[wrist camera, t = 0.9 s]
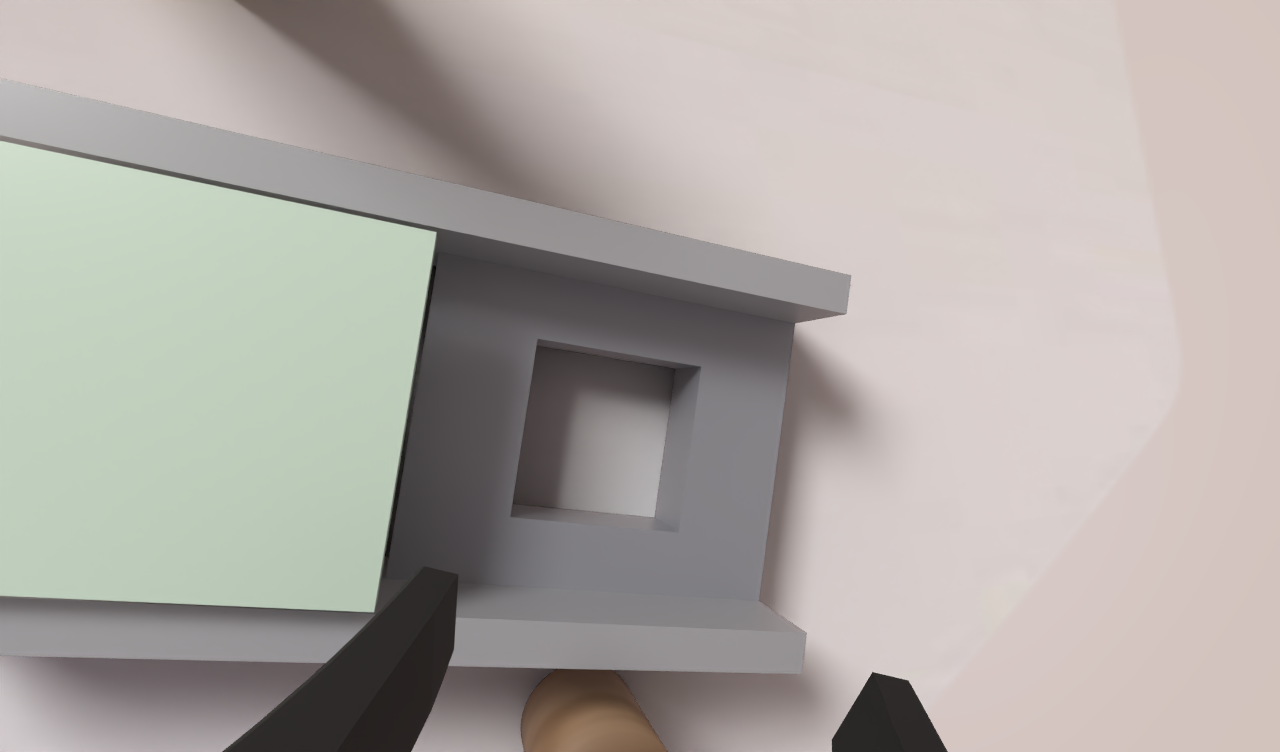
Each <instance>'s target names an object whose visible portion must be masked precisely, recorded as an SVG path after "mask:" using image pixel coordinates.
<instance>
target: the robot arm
mask: <svg viewBox="0 0 1280 752" xmlns="http://www.w3.org/2000/svg"><path fill="white" fill-rule="evenodd" d="M457 591H458V574H455V573H451V572H447V571H442V570H438V569H434V568H430V567H426V566H423V567H421V568H419V569H417V571H416V572H415V573H414V574H413V575H412V576H411V577H410V578H409V580H408V581H407V582H406V583H405V584H404V585H403V586H402V587H401V588H400V589H399V591H398V592H397V593H396V594H395V595H394V596H393V597H392V598H391V599H390V600H389V601H388V602H387V603H386V604H385V605H384V607H383V608H382V609H381V610H380V611H379V612H378V613H377V614H376V615H375V616H374V617H373V618H372V619H371V620H370V621H369V622H368V623H367V624H366V625H365V626H364V627H363V628H362V629H361V630H360V631H359V632H358V633H357V634H356V635H355V636H354V637H353V638H352V639H351V640H350V641H348V642H347V643H346V644H345V645H344V646H343V647H342V648H341V649H340V650H339V651H338V652H337V653H336V654H335V655H334V656H333V657H332V658H331V659H330V660H329V661H327V662H326V663H325V664H324V665H323V666H322V667H321V668H320V669H319V670H318V671H317V672H316V673H315V674H314V675H312V676H311V677H310V678H309V679H308V680H307V681H306V682H305V683H303V684H302V685H301V686H300V687H299V688H298V689H297V690H295V691H294V692H293V693H292V694H291V695H290V696H289V697H287V698H286V699H285V700H284V701H283V702H282V703H280V704H279V705H278V706H277V707H276V708H275V709H274V710H272V711H271V712H270V713H269V714H268V715H267V716H266V717H264V718H263V719H262V720H261V721H260V722H258V723H257V724H256V725H255V726H254V727H252V728H251V729H250V730H249V731H248V732H246V733H245V734H244V735H243V736H241V737H240V738H239V739H238V740H236V741H235V742H234V743H233V744H231V745H230V746H229V747H228V748H226V749H225V750H224V751H223V752H411V751H412V749H413V747H414V745H415V743H416V740H417V738H418V736H419V734H420V732H421V730H422V728H423V726H424V724H425V722H426V720H427V718H428V716H429V714H430V712H431V710H432V707H433V704H434V702H435V699H436V697H437V694H438V691H439V689H440V686H441V684H442V681H443V678H444V676H445V673H446V670H447V667H448V665H449V662H450V659H451V657H452V654H453V651H454V643H455V625H456V608H457ZM832 752H947V750H946V748H945V746H944V744H943V743H942V741H941V739H940V737H939V735H938V734H937V732H936V730H935V728H934V726H933V724H932V722H931V721H930V719H929V717H928V715H927V713H926V711H925V710H924V708H923V706H922V704H921V702H920V700H919V699H918V697H917V695H916V693H915V691H914V690H913V688H912V686H911V684H910V683H909V681H908V680H903V679H899V678H895V677H891V676H886V675H882V674H878V673H874V672H872V674H871V676H870V677H869V679H868V681H867V682H866V684H865V686H864V687H863V689H862V691H861V692H860V694H859V696H858V697H857V699H856V701H855V702H854V704H853V706H852V707H851V709H850V711H849V712H848V714H847V716H846V717H845V719H844V721H843V722H842V724H841V726H840V727H839V729H838V731H837V732H836V734H835V735H834V737H833V739H832Z"/></svg>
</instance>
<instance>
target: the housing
mask: <svg viewBox="0 0 1280 752" xmlns="http://www.w3.org/2000/svg"><path fill="white" fill-rule="evenodd" d="M0 141H4V142H8V143H13V144H18V145H23V146H28V147H32V148H37V149H42V150H47V151H51V152H56V153H61V154H66V155H70V156H75V157H80V158H85V159H90V160H94V161H99V162H104V163H109V164H113V165H118V166H123V167H128V168H133V169H137V170H142V171H147V172H152V173H156V174H161V175H166V176H171V177H176V178H180V179H185V180H190V181H195V182H199V183H204V184H209V185H214V186H218V187H223V188H228V189H233V190H238V191H242V192H247V193H252V194H257V195H261V196H266V197H271V198H276V199H281V200H285V201H290V202H295V203H300V204H304V205H309V206H314V207H319V208H324V209H328V210H333V211H338V212H343V213H347V214H352V215H357V216H362V217H366V218H371V219H376V220H381V221H386V222H390V223H395V224H400V225H405V226H409V227H414V228H419V229H424V230H429V231H433V232H437V241H436V247H435V253H434V259H433V266H437V268H436V274H435V280H434V286H433V292H432V298H431V304H430V310H429V317H428V323H427V329H426V335H425V341H424V347H423V353H422V359H421V365H420V371H419V377H418V384H417V390H416V396H415V402H414V408H413V414H412V420H411V426H410V432H409V438H408V445H407V451H406V457H405V463H404V469H403V475H402V481H401V487H400V493H399V499H398V505H397V512H396V518H395V524H394V530H393V536H392V542H391V548H390V554H389V557H387V556H385V557H384V563H383V569H382V576H381V582H380V588H379V594H378V600H377V604H376V607H375V611H374V612H353V611H331V610H308V609H286V608H264V607H241V606H219V605H197V604H174V603H152V602H129V601H107V600H85V599H62V598H40V597H18V596H0V656H32V657H76V658H119V659H163V660H206V661H250V662H293V663H326V662H327V661H329V660H330V659H331V658H332V657H333V656H334V655H335V654H336V653H337V652H338V651H339V650H340V649H341V648H342V647H343V646H344V645H345V644H346V643H347V642H348V641H350V640H351V639H352V638H353V637H354V636H355V635H356V634H357V633H358V632H359V631H360V630H361V629H362V628H363V627H364V626H365V625H366V624H367V623H368V622H369V621H370V620H371V619H372V618H373V617H374V616H375V615H376V614H377V613H378V612H379V611H380V610H381V609H382V608H383V607H384V605H385V604H386V603H387V602H388V601H389V600H390V599H391V598H392V597H393V596H394V595H395V594H396V593H397V592H398V591H399V589H400V588H401V587H402V586H403V585H404V584H405V583H406V582H407V581H408V580H409V578H410V577H411V576H412V575H413V574H414V573H415V572H416V571H417V569H419V568H421V567H423V566H426V567H430V568H434V569H438V570H442V571H447V572H451V573H455V574H458V591H457V608H456V625H455V643H454V651H453V654H452V657H451V659H450V662H449V665H448V666H467V667H510V668H554V669H597V670H641V671H684V672H728V673H771V674H802V667H803V659H804V651H805V643H806V635H807V633H806V632H805V631H803V630H802V629H800V628H799V627H797V626H796V625H794V624H793V623H791V622H790V621H788V620H787V619H785V618H784V617H782V616H781V615H779V614H778V613H776V612H775V611H773V610H772V609H770V608H769V607H767V606H766V605H764V604H763V603H761V602H760V601H759V597H760V590H761V582H762V574H763V566H764V559H765V551H766V543H767V535H768V528H769V520H770V512H771V505H772V497H773V489H774V481H775V474H776V466H777V458H778V450H779V443H780V435H781V427H782V419H783V412H784V404H785V396H786V389H787V381H788V373H789V365H790V358H791V350H792V342H793V334H794V327H795V323H800V322H805V321H811V320H816V319H822V318H827V317H833V316H838V315H844V314H846V313H847V305H848V297H849V289H850V281H851V275H847V274H843V273H838V272H834V271H830V270H825V269H821V268H817V267H812V266H808V265H804V264H799V263H795V262H791V261H787V260H782V259H778V258H774V257H769V256H765V255H761V254H756V253H752V252H748V251H743V250H739V249H735V248H731V247H726V246H722V245H718V244H713V243H709V242H705V241H700V240H696V239H692V238H688V237H683V236H679V235H675V234H670V233H666V232H662V231H657V230H653V229H649V228H644V227H640V226H636V225H632V224H627V223H623V222H619V221H614V220H610V219H606V218H601V217H597V216H593V215H588V214H584V213H580V212H576V211H571V210H567V209H563V208H558V207H554V206H550V205H545V204H541V203H537V202H533V201H528V200H524V199H520V198H515V197H511V196H507V195H502V194H498V193H494V192H489V191H485V190H481V189H477V188H472V187H468V186H464V185H459V184H455V183H451V182H446V181H442V180H438V179H433V178H429V177H425V176H421V175H416V174H412V173H408V172H403V171H399V170H395V169H390V168H386V167H382V166H377V165H373V164H369V163H365V162H360V161H356V160H352V159H347V158H343V157H339V156H334V155H330V154H326V153H322V152H317V151H313V150H309V149H304V148H300V147H296V146H291V145H287V144H283V143H278V142H274V141H270V140H266V139H261V138H257V137H253V136H248V135H244V134H240V133H235V132H231V131H227V130H222V129H218V128H214V127H210V126H205V125H201V124H197V123H192V122H188V121H184V120H179V119H175V118H171V117H167V116H162V115H158V114H154V113H149V112H145V111H141V110H136V109H132V108H128V107H123V106H119V105H115V104H111V103H106V102H102V101H98V100H93V99H89V98H85V97H80V96H76V95H72V94H67V93H63V92H59V91H55V90H50V89H46V88H42V87H37V86H33V85H29V84H24V83H20V82H16V81H12V80H7V79H3V78H0ZM536 346H543V347H549V348H555V349H561V350H567V351H573V352H579V353H585V354H591V355H597V356H603V357H609V358H615V359H621V360H627V361H633V362H639V363H644V364H650V365H656V366H662V367H668V368H674V369H675V376H674V383H673V390H672V397H671V404H670V411H669V418H668V426H667V433H666V440H665V447H664V454H663V461H662V468H661V476H660V483H659V490H658V497H657V504H656V511H655V518H653V517H642V516H632V515H621V514H611V513H600V512H590V511H579V510H569V509H559V508H548V507H538V506H527V505H517V504H512V502H513V496H514V489H515V483H516V476H517V470H518V463H519V457H520V450H521V444H522V437H523V431H524V424H525V418H526V411H527V405H528V398H529V392H530V385H531V379H532V372H533V366H534V359H535V353H536Z"/></svg>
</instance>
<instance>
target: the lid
mask: <svg viewBox="0 0 1280 752" xmlns="http://www.w3.org/2000/svg"><path fill="white" fill-rule="evenodd" d="M436 241H437V232H433V231H429V230H424V229H419V228H414V227H409V226H405V225H400V224H395V223H390V222H386V221H381V220H376V219H371V218H366V217H362V216H357V215H352V214H347V213H343V212H338V211H333V210H328V209H324V208H319V207H314V206H309V205H304V204H300V203H295V202H290V201H285V200H281V199H276V198H271V197H266V196H261V195H257V194H252V193H247V192H242V191H238V190H233V189H228V188H223V187H218V186H214V185H209V184H204V183H199V182H195V181H190V180H185V179H180V178H176V177H171V176H166V175H161V174H156V173H152V172H147V171H142V170H137V169H133V168H128V167H123V166H118V165H113V164H109V163H104V162H99V161H94V160H90V159H85V158H80V157H75V156H70V155H66V154H61V153H56V152H51V151H47V150H42V149H37V148H32V147H28V146H23V145H18V144H13V143H8V142H4V141H0V596H18V597H40V598H62V599H85V600H107V601H129V602H152V603H174V604H197V605H219V606H241V607H264V608H286V609H308V610H331V611H353V612H374V611H375V607H376V604H377V600H378V594H379V588H380V582H381V576H382V569H383V563H384V557H385V551H386V545H387V539H388V533H389V527H390V521H391V515H392V509H393V503H394V497H395V490H396V484H397V478H398V472H399V466H400V460H401V454H402V448H403V442H404V436H405V430H406V424H407V418H408V411H409V405H410V399H411V393H412V387H413V381H414V375H415V369H416V363H417V357H418V351H419V345H420V338H421V332H422V326H423V320H424V314H425V308H426V302H427V296H428V290H429V284H430V278H431V272H432V266H433V259H434V253H435V247H436Z"/></svg>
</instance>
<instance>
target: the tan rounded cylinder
mask: <svg viewBox="0 0 1280 752" xmlns="http://www.w3.org/2000/svg"><path fill="white" fill-rule="evenodd" d="M521 738H522V743H523V747H524V752H667V750H666V749H665V747H664V746H663V744H662V742H661V741H660V739H659V737H658V736H657V734H656V733H655V731H654V729H653V728H652V726H651V724H650V723H649V721H648V720H647V718H646V716H645V715H644V713H643V711H642V710H641V708H640V707H639V705H638V703H637V702H636V700H635V699H634V697H633V695H632V694H631V692H630V690H629V689H628V687H627V686H626V684H625V683H624V681H623V680H622V679H621V677H620V676H619V675H618V674H617V673H615V672H614V671H613V670H597V669H557V670H556V671H554V672H552V673H551V674H549V675H548V676H547V677H546V678H544V679H543V680H542V681H541V682H540V683H539V684H538V686H537V687H536V688H535V689H534V691H533V692H532V694H531V695H530V697H529V699H528V701H527V703H526V705H525V708H524V711H523V715H522V720H521Z"/></svg>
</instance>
